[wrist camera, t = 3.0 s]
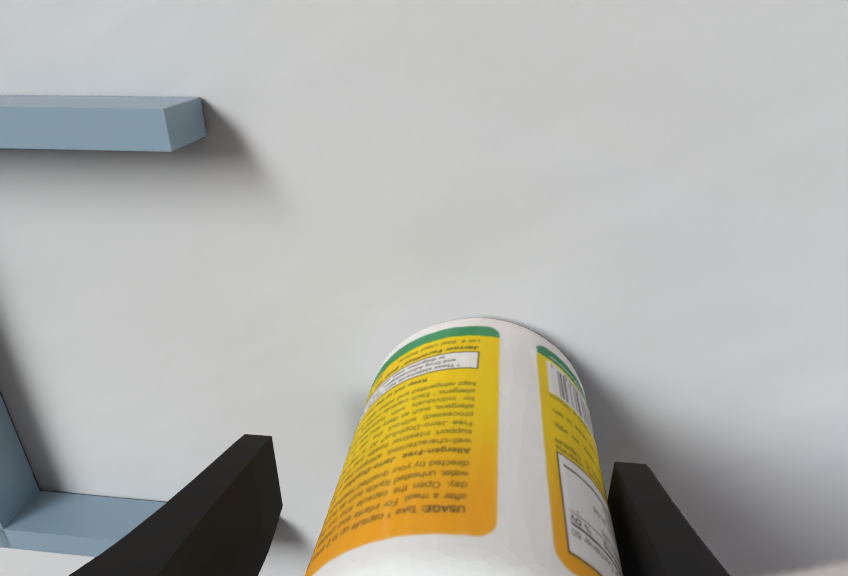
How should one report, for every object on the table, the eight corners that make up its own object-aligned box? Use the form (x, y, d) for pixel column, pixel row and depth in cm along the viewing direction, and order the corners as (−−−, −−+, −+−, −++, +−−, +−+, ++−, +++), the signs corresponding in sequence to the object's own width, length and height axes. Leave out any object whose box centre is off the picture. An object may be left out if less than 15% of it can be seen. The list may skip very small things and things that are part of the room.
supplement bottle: (623, 356, 14) (831, 948, 5) (530, 505, 16) (564, 1076, 7) (410, 276, 13) (250, 759, 5) (348, 440, 16) (168, 954, 7)
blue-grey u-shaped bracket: (200, 96, 12) (162, 108, 11) (274, 530, 18) (256, 573, 16) (-154, 93, 13) (-229, 104, 12) (24, 507, 19) (-13, 546, 17)
